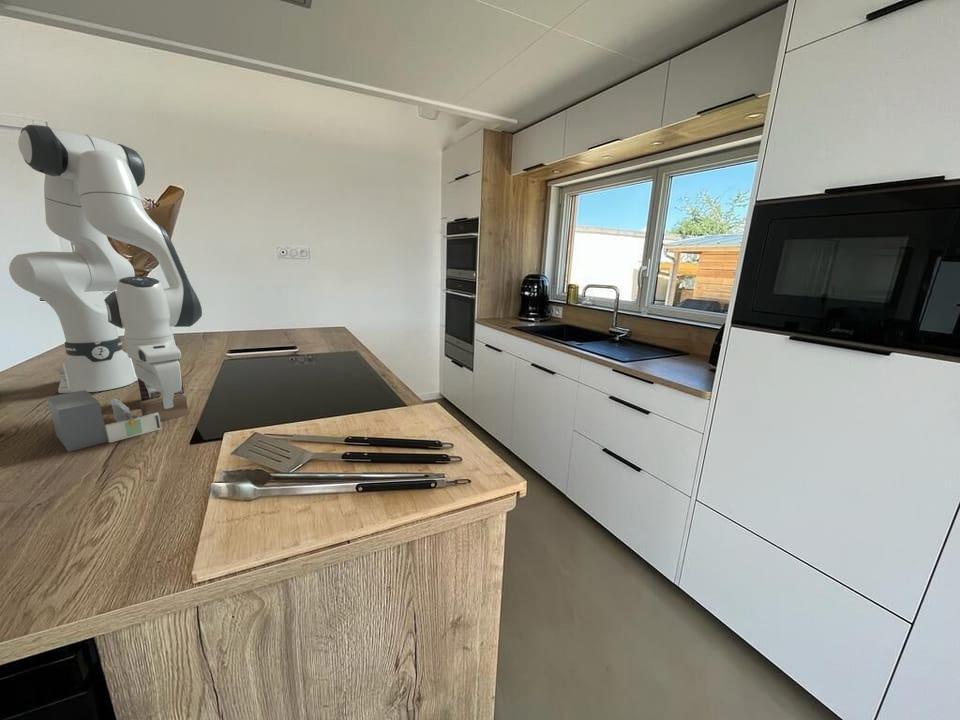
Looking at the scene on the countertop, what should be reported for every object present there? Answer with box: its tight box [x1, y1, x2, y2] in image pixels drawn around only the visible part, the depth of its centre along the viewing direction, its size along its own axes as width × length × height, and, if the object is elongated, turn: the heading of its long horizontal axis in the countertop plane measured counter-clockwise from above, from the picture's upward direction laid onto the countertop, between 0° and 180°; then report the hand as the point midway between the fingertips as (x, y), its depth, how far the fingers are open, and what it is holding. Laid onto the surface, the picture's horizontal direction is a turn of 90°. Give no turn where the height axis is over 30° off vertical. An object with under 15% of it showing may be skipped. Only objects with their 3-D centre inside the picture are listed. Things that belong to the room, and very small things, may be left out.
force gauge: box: [46, 390, 163, 453], centre depth 86 cm, size 13×15×9 cm
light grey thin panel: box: [110, 398, 135, 426], centre depth 88 cm, size 13×1×5 cm, turn 54°
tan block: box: [139, 393, 190, 423], centre depth 95 cm, size 4×8×5 cm, turn 145°
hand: (161, 402), depth 95 cm, fingers open, 8 cm apart
